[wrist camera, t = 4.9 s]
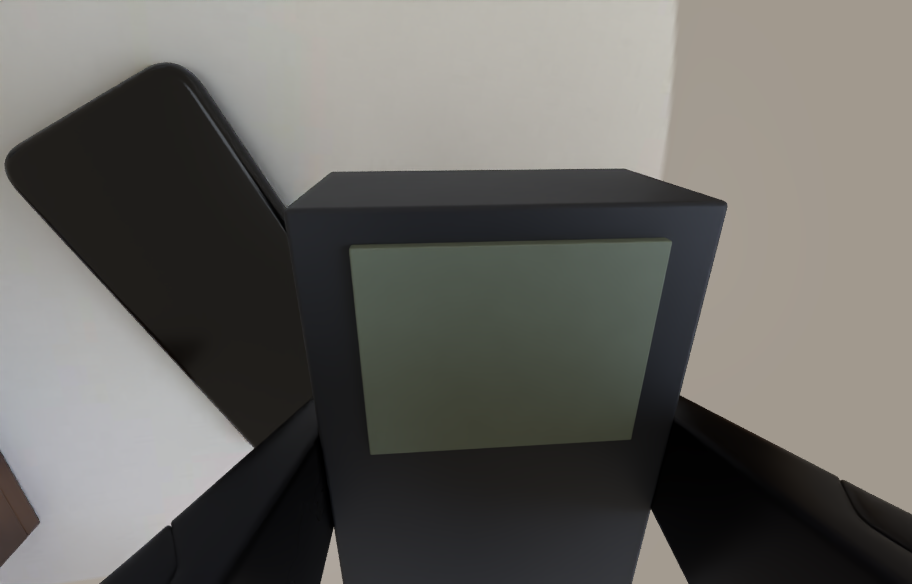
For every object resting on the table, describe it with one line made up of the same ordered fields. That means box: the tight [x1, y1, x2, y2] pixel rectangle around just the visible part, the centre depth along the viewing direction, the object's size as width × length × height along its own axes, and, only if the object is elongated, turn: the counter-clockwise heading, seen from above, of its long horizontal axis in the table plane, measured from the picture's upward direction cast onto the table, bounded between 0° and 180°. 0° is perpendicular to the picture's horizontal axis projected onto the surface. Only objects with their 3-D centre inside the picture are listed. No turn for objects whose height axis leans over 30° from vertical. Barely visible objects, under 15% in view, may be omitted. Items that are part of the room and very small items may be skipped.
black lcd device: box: [284, 169, 727, 584], centre depth 8 cm, size 8×6×3 cm, turn 0°
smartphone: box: [5, 62, 313, 448], centre depth 18 cm, size 8×1×16 cm
